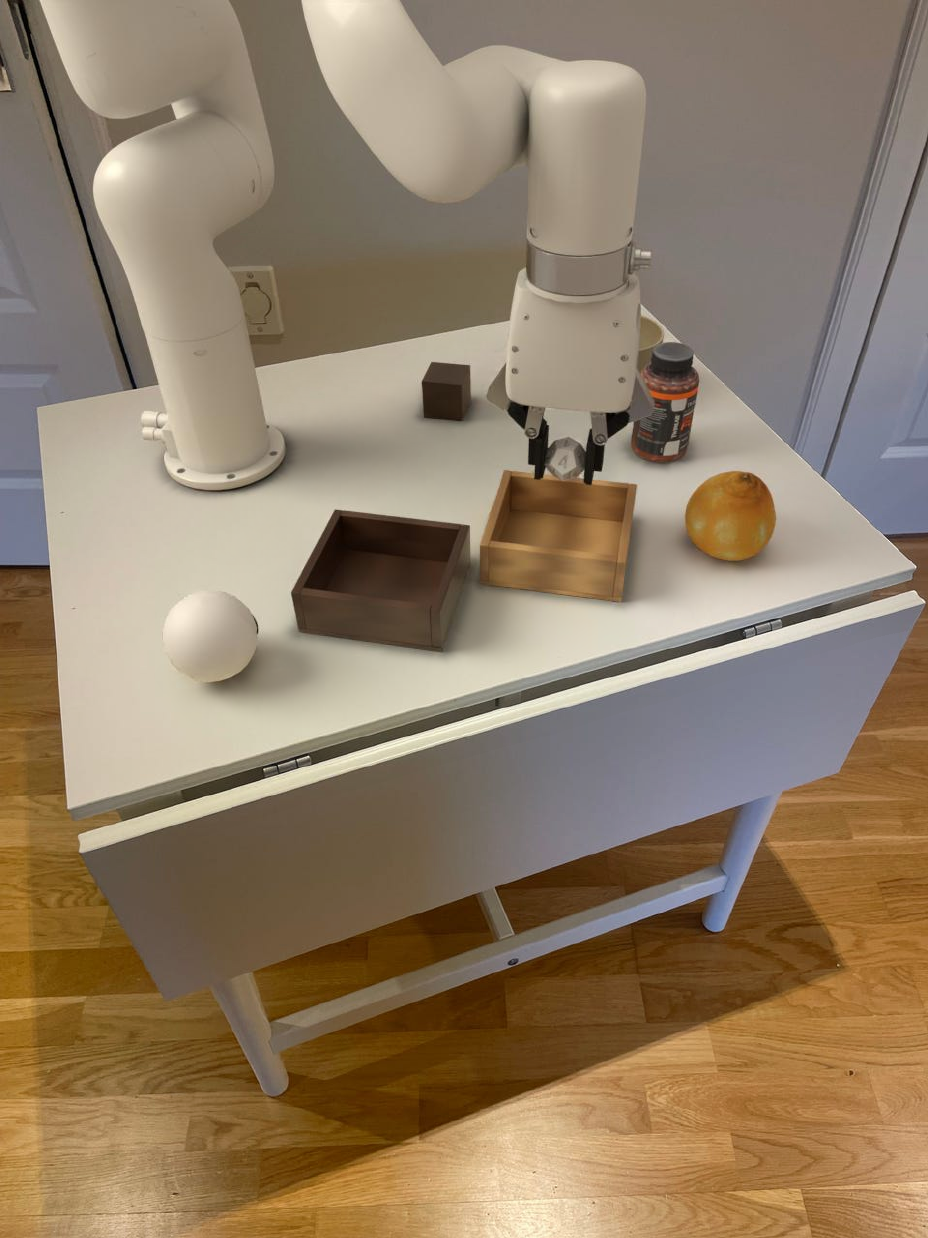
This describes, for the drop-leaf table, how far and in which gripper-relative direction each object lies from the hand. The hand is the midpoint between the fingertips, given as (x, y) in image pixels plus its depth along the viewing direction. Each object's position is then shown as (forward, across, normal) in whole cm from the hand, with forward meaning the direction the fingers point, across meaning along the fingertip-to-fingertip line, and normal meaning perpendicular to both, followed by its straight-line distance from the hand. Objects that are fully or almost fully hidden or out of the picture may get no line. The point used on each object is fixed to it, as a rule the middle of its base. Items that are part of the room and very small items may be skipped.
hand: (565, 471), depth 78 cm
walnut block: (+9, +16, -23) cm, 29 cm away
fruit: (+9, -15, -4) cm, 18 cm away
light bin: (+9, 0, 0) cm, 9 cm away
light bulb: (+9, +26, +19) cm, 34 cm away
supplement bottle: (+9, -8, -19) cm, 23 cm away
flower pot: (+9, -2, -31) cm, 32 cm away
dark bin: (+9, +14, +9) cm, 19 cm away
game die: (0, 0, 0) cm, 0 cm away
